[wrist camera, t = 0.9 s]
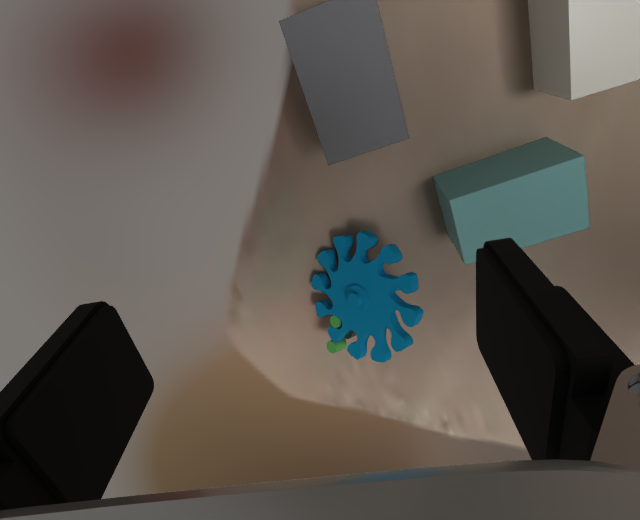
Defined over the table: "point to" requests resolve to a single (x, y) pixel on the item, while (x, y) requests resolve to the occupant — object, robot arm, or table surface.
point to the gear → (365, 298)
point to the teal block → (514, 197)
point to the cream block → (584, 45)
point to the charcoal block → (346, 77)
